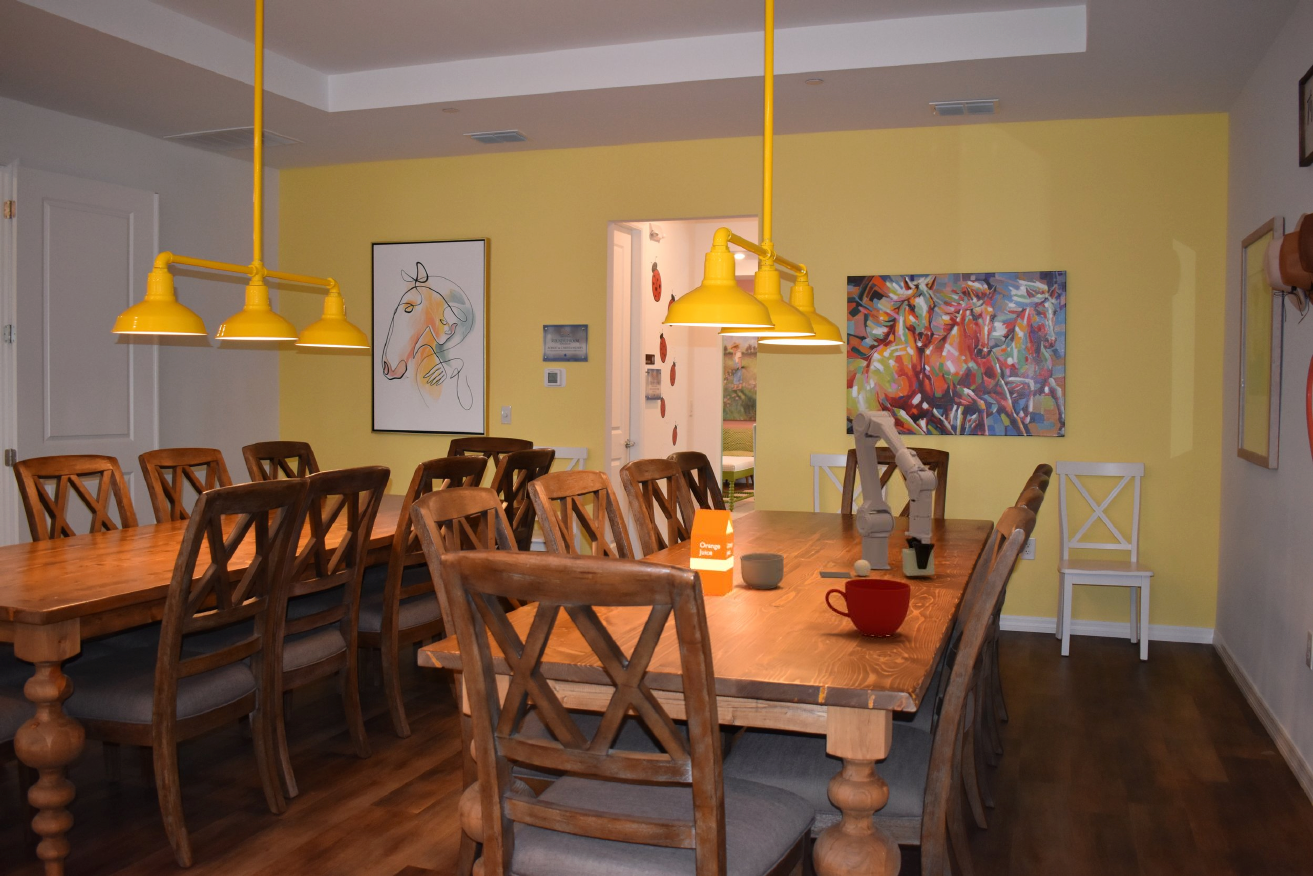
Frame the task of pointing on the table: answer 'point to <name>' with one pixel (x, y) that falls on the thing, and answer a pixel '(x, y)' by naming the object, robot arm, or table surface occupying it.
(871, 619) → the ceramic cup
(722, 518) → the orange juice
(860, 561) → the ball
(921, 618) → the table surface
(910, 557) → the beige cuboid
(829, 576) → the thin dark grey panel
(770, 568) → the teacup
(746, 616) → the table surface
